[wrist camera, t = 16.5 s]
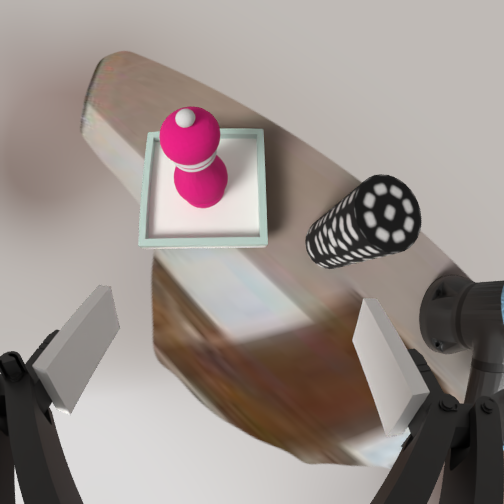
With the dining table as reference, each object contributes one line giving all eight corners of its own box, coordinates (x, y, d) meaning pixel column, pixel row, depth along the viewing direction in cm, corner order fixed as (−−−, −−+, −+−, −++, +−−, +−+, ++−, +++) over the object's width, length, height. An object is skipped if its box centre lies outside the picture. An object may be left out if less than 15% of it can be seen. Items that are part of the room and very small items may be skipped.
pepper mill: (213, 158, 43) (203, 71, 24) (237, 196, 43) (241, 124, 23) (171, 180, 43) (132, 105, 23) (193, 220, 42) (162, 164, 22)
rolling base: (259, 146, 49) (263, 128, 43) (263, 250, 47) (267, 244, 41) (156, 149, 48) (148, 132, 42) (149, 251, 45) (138, 246, 39)
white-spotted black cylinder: (341, 277, 47) (409, 266, 27) (297, 254, 47) (342, 229, 27) (359, 232, 48) (428, 199, 28) (317, 209, 48) (367, 160, 28)
